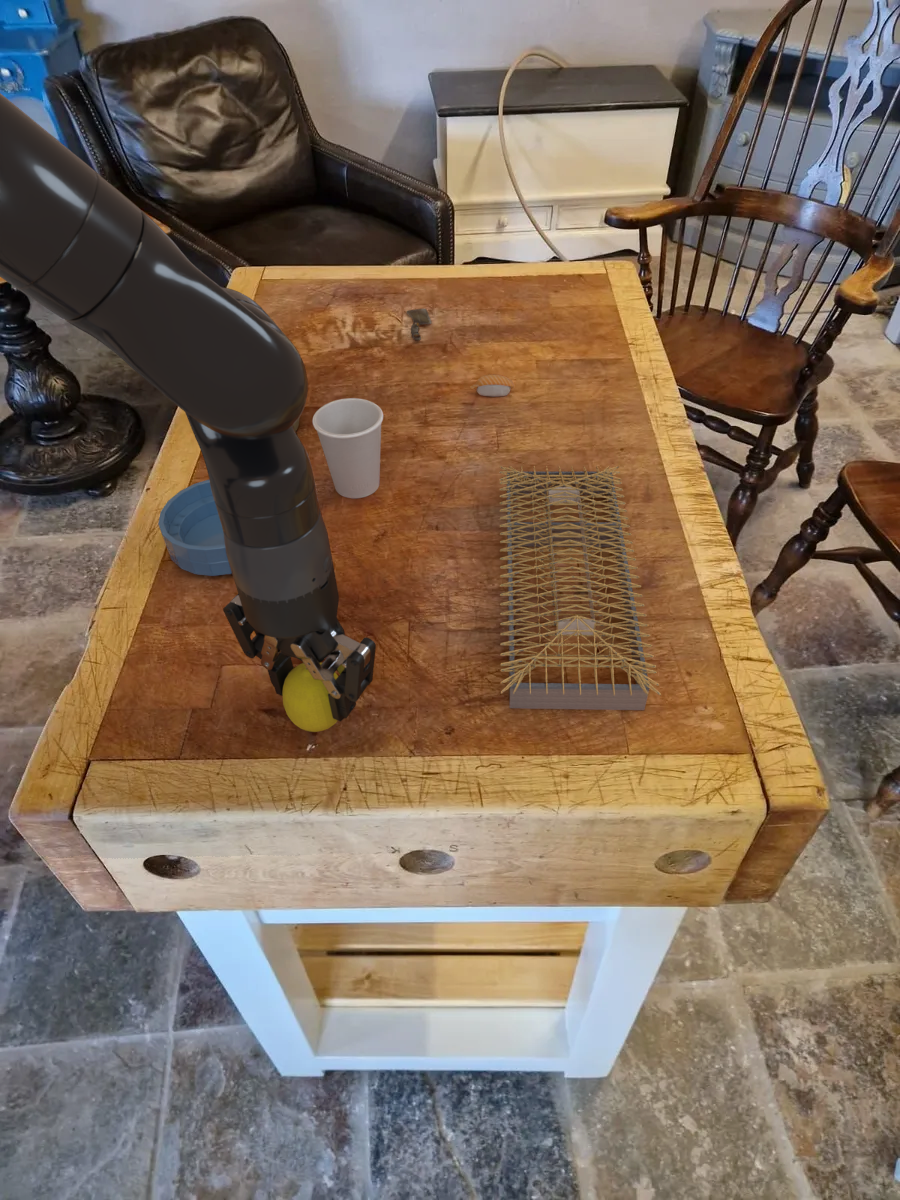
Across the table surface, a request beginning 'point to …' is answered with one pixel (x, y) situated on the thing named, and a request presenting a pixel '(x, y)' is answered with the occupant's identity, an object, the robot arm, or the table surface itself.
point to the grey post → (418, 321)
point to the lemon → (307, 700)
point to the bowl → (195, 531)
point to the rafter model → (572, 534)
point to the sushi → (493, 385)
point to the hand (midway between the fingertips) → (315, 700)
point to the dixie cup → (351, 444)
